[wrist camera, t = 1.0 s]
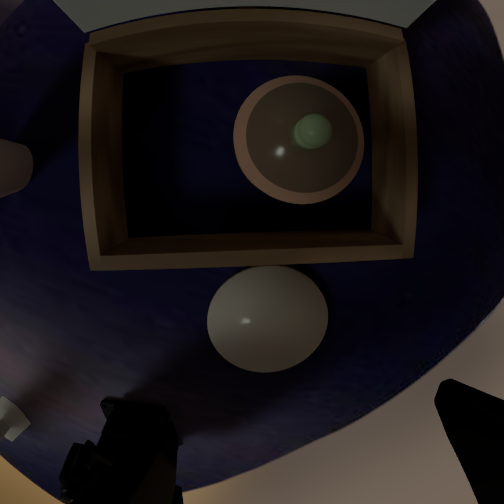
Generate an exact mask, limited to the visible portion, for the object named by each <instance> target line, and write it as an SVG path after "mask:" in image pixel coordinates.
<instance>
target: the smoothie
mask: <svg viewBox="0 0 504 504" xmlns="http://www.w3.org/2000/svg"><path fill="white" fill-rule="evenodd" d="M32 171H33V158H32V154H31V152H30V150H29V149H28V147H26V146H25V145H22V144H18V143H15V142H11V141H7V140H3V139H0V198H1V197H3V196H6V195H9V194H11V193H14V192H17V191H19V190H22V189H23V188H24V187H25V186H26V185H27V184H28V182H29V180H30V178H31V175H32Z"/></svg>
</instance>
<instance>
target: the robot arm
mask: <svg viewBox="0 0 504 504" xmlns="http://www.w3.org/2000/svg"><path fill="white" fill-rule="evenodd" d="M434 402H435V406H436V409H437V411H438V414H439V416H440V419H441V421H442V424H443V427H444V429H445V432H446V434H447V436H448V439H449V441H450V443H451V445H452V447H453V449H454V451H455V453H456V455H457V457H458V459H459V461H460V463H461V466H462V468H463V470H464V472H465V474H466V476H467V479H468V481H469V483H470V485H471V487H472V490H473V492H474V495H475V497H476V499H477V502H478V504H504V400H502V399H500V398H497V397H495V396H492V395H490V394H487V393H485V392H482V391H480V390H477V389H475V388H473V387H470V386H468V385H465V384H463V383H461V382H458V381H456V380H453V379H447V380H444V381H442V382H441V383H440V385H439V388H438V391H437V393H436V396H435V399H434ZM100 406H101V408H102V411H103V413H104V415H105V417H106V419H107V421H106V423H105V425H104V428H103V430H102V432H101V433H102V435H101V437H100V439H99V441H98V444H97V446H96V445H94V443H93V442H91V441H90V440H87V441H86V442H85V444H84V445H83V444H82V443H81V444H79V443H73V445H72V447H71V449H70V451H69V453H68V455H67V457H66V459H65V462H64V464H63V467H62V469H61V472H60V475H59V478H58V479H59V482H60V484H61V495H60V500H62V501H64V502H65V503H66V504H183V496H182V489H181V487H180V486H177V485H175V483H176V468H177V450H178V436H177V433H176V430H175V427H174V424H173V421H172V420H171V419H169V415H168V412H167V409H166V408H165V407H164V406H160V405H147V404H136V403H127V402H119V401H111V400H102V401H101V403H100Z"/></svg>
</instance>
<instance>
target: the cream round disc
mask: <svg viewBox="0 0 504 504" xmlns="http://www.w3.org/2000/svg"><path fill="white" fill-rule="evenodd" d="M327 323H328V309H327V305H326V301H325V299H324V296H323V294H322V293H321V291H320V290H319V288H318V287H317V285H316V284H315V283H314V282H313V281H312V279H310V278H309V277H308V276H307V275H306V274H304V273H302V272H301V271H299V270H297V269H295V268H292V267H289V266H286V265H261V266H250V267H247V268H245V269H242V270H240V271H238V272H236V273H235V274H233V275H232V276H230V277H229V278H228V279H227V280H226V281H224V282H223V283H222V285H221V286H220V287H219V288H218V289H217V291H216V293H215V294H214V296H213V298H212V301H211V303H210V307H209V311H208V318H207V327H208V333H209V336H210V339H211V341H212V343H213V345H214V347H215V348H216V350H217V351H218V352H219V353H220V354H221V355H222V357H224V358H225V359H226V360H227V361H229V362H230V363H232V364H233V365H235V366H237V367H240V368H242V369H245V370H249V371H254V372H276V371H281V370H284V369H287V368H290V367H292V366H295V365H297V364H298V363H300V362H302V361H303V360H305V359H306V358H307V357H309V356H310V355H311V354H312V353H313V352H314V351H315V349H316V348H317V347H318V346H319V344H320V342H321V341H322V339H323V337H324V335H325V332H326V328H327Z"/></svg>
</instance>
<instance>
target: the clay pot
mask: <svg viewBox="0 0 504 504" xmlns="http://www.w3.org/2000/svg"><path fill="white" fill-rule="evenodd" d="M234 148H235V153H236V158H237V162H238V165H239V167H240V169H241V171H242V173H243V174H244V176H245V177H246V178H247V179H248V180H249V181H250V182H251V183H252V184H253V185H255V186H256V187H257V188H259V189H260V190H261V191H263V192H265V193H266V194H268V195H269V196H271V197H274V198H276V199H278V200H281V201H284V202H288V203H294V204H312V203H316V202H321V201H323V200H326V199H329V198H331V197H333V196H335V195H336V194H338V193H339V192H340V191H342V190H343V189H344V188H345V187H346V186H347V185H348V184H349V183H350V182H351V181H352V179H353V178H354V176H355V175H356V173H357V171H358V169H359V167H360V164H361V161H362V158H363V152H364V134H363V129H362V125H361V122H360V119H359V117H358V115H357V113H356V111H355V109H354V108H353V106H352V105H351V103H350V102H349V101H348V100H347V98H346V97H345V96H344V95H343V94H341V93H340V92H339V91H338V90H337V89H335V88H334V87H332V86H331V85H329V84H327V83H325V82H323V81H321V80H318V79H315V78H311V77H306V76H285V77H280V78H276V79H273V80H271V81H269V82H266V83H265V84H263V85H261V86H260V87H258V88H257V89H256V90H255V91H253V92H252V93H251V94H250V95H249V96H248V98H247V99H246V100H245V102H244V103H243V104H242V106H241V108H240V110H239V112H238V115H237V118H236V121H235V126H234Z"/></svg>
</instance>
